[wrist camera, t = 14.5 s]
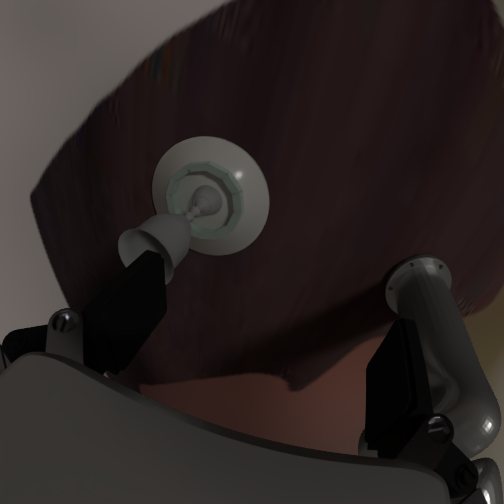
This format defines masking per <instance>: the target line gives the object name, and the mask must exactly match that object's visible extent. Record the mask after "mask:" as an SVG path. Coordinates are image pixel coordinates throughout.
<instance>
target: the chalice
mask: <svg viewBox="0 0 504 504" xmlns="http://www.w3.org/2000/svg"><path fill="white" fill-rule="evenodd" d="M222 204H223V202H222V197H221V194H220V193H219V192H218V190H217V189H215V188H214V187H212V186H209V185H202V186H200V187H198V188H197V189H196V190H195V191H194V193H193V199H192V206H191V207H190V208H189V212H185V213H184V216H183V215H180V214H159V215H155V216H152V217H150V218H149V219H148V220H147V221H145V222H144V223H143V224H141V225H140V226H139V227H137V228H136V229H130V230H127V231H124V233H123V234H122V235H121V236H120V239H119V242H118V249H119V254H120V257H121V260H122V262H123V263H124V265H125V266H126V268H127V267H128V266H129V265H130V264H131V263H132V262H133V261H134V260H135V259H137V258H138V257H139V256H140V255H141V254H142V253H143V252H144V251H146V250H151V251H154V252H157V253H160V254H161V257H162V258H164V264H165V284H168V283H169V282H170V281H171V279H172V277H173V272H174V269H175V267H176V266H177V265H178V264H179V263H180V262H181V260H182V259H183V258H184V257H185V256H186V254H187V252H188V249H189V245H190V239H191V225H190V222H193V221H194V218H197V217H199V216H200V215H205V216H206V215H214V214H216V213H218V212H219V211H220V209H221V208H222Z"/></svg>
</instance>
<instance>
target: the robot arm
mask: <svg viewBox="0 0 504 504" xmlns="http://www.w3.org/2000/svg"><path fill="white" fill-rule="evenodd" d="M451 281H452V280H451V274H450V271H449V269H448V267H447V265H446V264H445V263H444V262H443V261H442V260H441V259H439V258H437V257H435V256H431V255H418V256H414V257H411V258H409V259H407V260H405V261H403V262H402V263H400V264H399V265H398V266H397V267H396V268H395V269H394V270H393V271H392V272H391V274H390V276H389V277H388V280H387V282H386V286H385V297H386V301H387V303H388V306H389V307H390V308H391V310H393V311H394V312H395V313H397V314H399V321H398V320H396V321H395V322H394V323H393V325H392V327H391V329H390V330H389V332H388V333H387V335H386V337H385V338H384V340H383V342H382V343H381V345H380V346H379V348H378V349H377V351H376V353H375V354H374V356H373V357H372V359H371V360H370V362H369V363H368V366H367V369H366V420H365V429H364V430H363V431H362V433H361V436H360V439H359V443H358V456H357V455H349V454H341V453H333V452H327V451H320V450H314V449H308V448H303V447H298V446H293V445H289V444H284V443H280V442H275V441H271V440H267V439H263V438H259V437H255V436H252V435H248V434H244V433H241V432H238V431H234V430H231V429H228V428H225V427H222V426H219V425H216V424H213V423H210V422H207V421H204V420H201V419H199V418H196V417H193V416H191V415H188V414H185V413H183V412H180V411H178V410H175V409H173V408H170V407H168V406H166V405H163V404H161V403H158V402H156V401H154V400H152V399H150V398H148V397H145V396H143V395H141V394H139V393H137V392H135V391H133V390H131V389H129V388H127V387H125V386H123V385H121V384H119V383H117V382H115V381H113V380H111V379H109V378H107V377H105V376H104V375H103V374H104V373H105V372H106V370H108V371H109V372H111V373H113V374H115V375H117V374H118V373H119V372H120V370H122V371H123V370H125V369H126V367H127V366H128V365H129V363H130V362H131V360H132V359H133V358H134V356H135V355H136V353H137V352H138V351H139V349H140V348H141V347H142V345H143V344H144V342H145V341H146V340H147V338H148V337H149V336H150V334H151V333H152V332H153V330H154V329H155V327H156V326H157V325H158V323H159V322H160V321H161V319H162V318H163V317H164V315H165V313H166V311H167V300H166V284H165V264H164V258H162V257H161V254H160V253H157V252H154V251H151V250H146V251H144V252H143V253H142V254H141V255H140V256H139V257H138V258H137V259H135V260H134V261H133V262H132V263H131V264H130V265H129V266H128V267H127V268H125V269H124V270H123V271H122V272H121V273H120V274H119V275H118V276H117V277H116V278H115V279H114V280H112V281H111V282H110V283H109V284H108V285H107V286H106V287H105V288H104V289H103V290H102V291H101V292H100V293H99V294H98V295H97V296H96V297H95V298H94V299H93V300H92V301H91V302H90V303H89V304H88V305H86V306H85V307H84V310H83V311H82V312H81V313H80V312H79V311H78V310H76V309H73V308H64V309H61V310H59V311H57V312H55V313H54V314H53V315H52V316H51V318H50V319H49V323H48V325H42V326H36V327H30V328H24V329H18V330H14V331H12V332H10V333H9V334H8V335H7V336H6V337H5V338H4V340H3V343H2V345H0V504H503V494H502V483H501V477H500V472H499V469H498V466H497V464H496V462H495V461H494V460H493V459H491V458H480V459H476V460H473V461H470V460H469V459H470V458H472V457H474V456H475V455H477V454H479V453H480V452H482V451H483V450H484V449H485V448H487V447H488V446H489V445H490V444H491V443H492V442H493V441H494V439H495V438H496V436H497V434H498V432H499V430H500V426H501V412H500V407H499V404H498V402H497V399H496V397H495V395H494V392H493V390H492V388H491V386H490V384H489V382H488V380H487V378H486V376H485V374H484V371H483V369H482V367H481V365H480V362H479V360H478V357H477V355H476V352H475V350H474V347H473V345H472V342H471V339H470V337H469V334H468V331H467V329H466V326H465V324H464V322H463V319H462V317H461V314H460V312H459V310H458V308H457V305H456V303H455V301H454V299H453V297H452V294H451V292H450V288H451Z"/></svg>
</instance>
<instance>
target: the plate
mask: <svg viewBox="0 0 504 504" xmlns="http://www.w3.org/2000/svg"><path fill="white" fill-rule="evenodd" d="M202 185H209V186H212V187H214V188H215V189H217V190H218V192H219V193H220V194H221V197H222V202H223V204H222V208H221V209H220V211H219V212H218V213H216V214H214V215H206V216H205V215H200V216H199V217H197V218H194V221H193V222H190V225H191V239H190V245H189V248H190V249H192V250H194V251H197V252H199V253H203V254H208V255H228V254H232V253H235V252H238V251H240V250H242V249H244V248H245V247H247V246H248V245H250V244H251V243H252V242H253V241H254V240H255V239H256V238H257V237H258V235H259V234H260V232H261V231H262V229H263V227H264V225H265V223H266V220H267V217H268V213H269V207H270V197H269V189H268V185H267V182H266V179H265V177H264V174H263V172H262V171H261V169H260V167H259V166H258V164H257V163H256V162H255V160H254V159H253V158H252V157H251V156H250V155H249V154H248V153H247V152H246V151H245V150H243V149H242V148H241V147H239V146H238V145H236V144H234V143H232V142H230V141H228V140H225V139H222V138H218V137H211V136H199V137H194V138H190V139H187V140H184V141H182V142H180V143H178V144H176V145H175V146H173V147H172V148H170V149H169V150H168V151H167V152H166V153H165V154H164V156H163V157H162V158H161V160H160V161H159V163H158V165H157V167H156V170H155V172H154V177H153V182H152V196H153V202H154V206H155V209H156V212H157V215H159V214H180V215H183V216H184V213H185V212H189V208H190V207H191V206H192V199H193V193H194V191H195V190H196V189H197V188H198V187H200V186H202Z"/></svg>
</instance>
